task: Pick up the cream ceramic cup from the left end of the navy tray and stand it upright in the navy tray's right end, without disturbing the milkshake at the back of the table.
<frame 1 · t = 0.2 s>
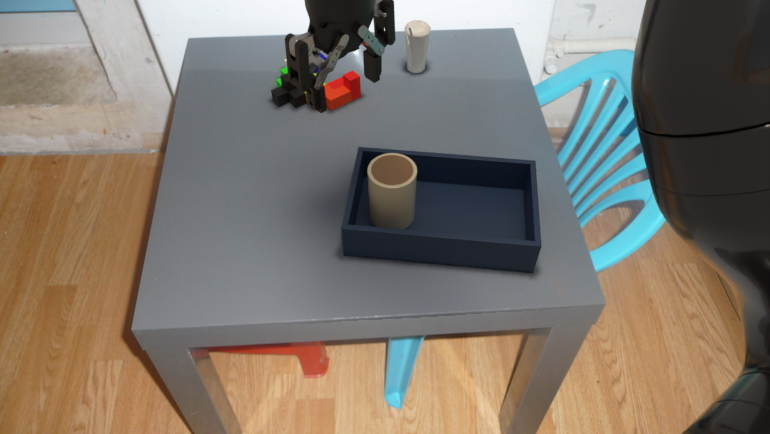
hand: (346, 93, 72), 20 cm above the table, tool pointing down, fingers open, 8 cm apart
navy tray: (440, 220, 84), on the table
milkshake: (414, 70, 108), on the table
building blocks: (307, 90, 104), on the table
cup: (391, 214, 84), resting on navy tray
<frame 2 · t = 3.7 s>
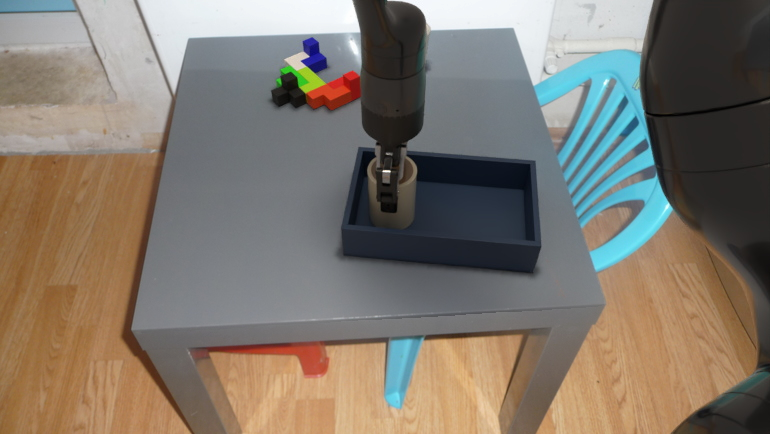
hand: (392, 190, 81), 5 cm above the table, tool pointing down, fingers closed on cup, 6 cm apart
cup: (391, 214, 84), resting on navy tray, touching gripper
everything else where it was.
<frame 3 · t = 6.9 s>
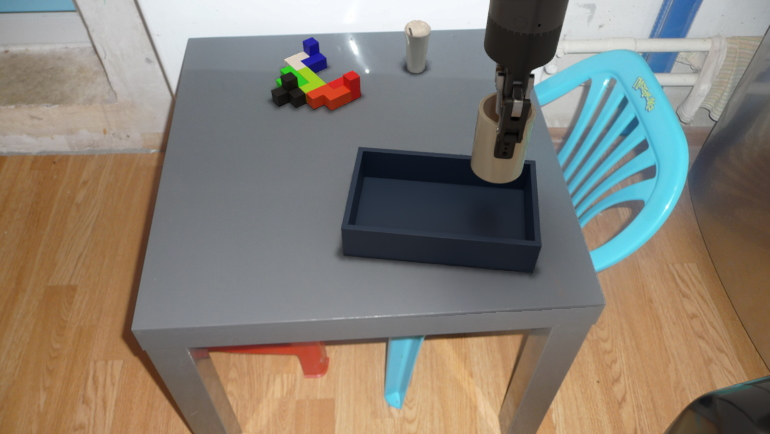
hand: (502, 135, 71), 17 cm above the table, tool pointing down, fingers closed on cup, 6 cm apart
cup: (496, 164, 75), point 12 cm above the table, touching gripper
everything else where it was.
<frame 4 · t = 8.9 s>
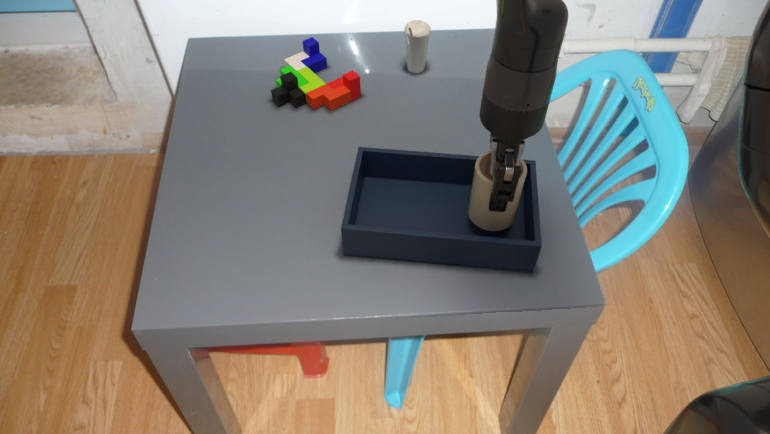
hand: (496, 189, 78), 7 cm above the table, tool pointing down, fingers closed on cup, 6 cm apart
cup: (491, 213, 82), point 2 cm above the table, touching gripper
everything else where it was.
when the fingers open (5 cm above the table, at t = 10.2 s): cup stays where it is, resting on navy tray.
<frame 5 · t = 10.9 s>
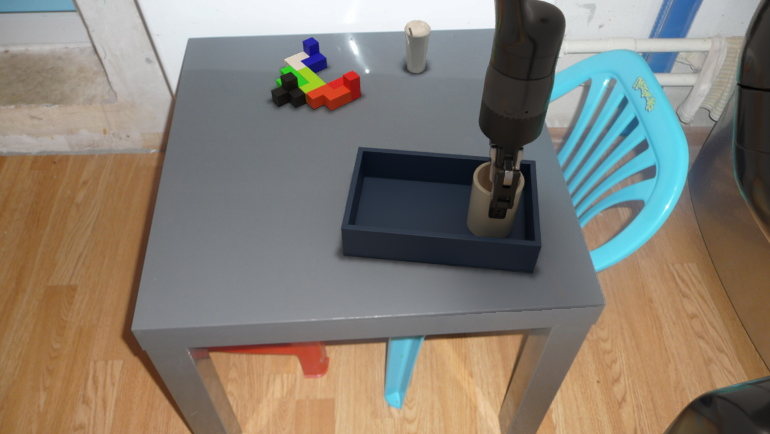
hand: (496, 192, 79), 7 cm above the table, tool pointing down, fingers open, 8 cm apart
cup: (489, 222, 83), resting on navy tray
everything else where it was.
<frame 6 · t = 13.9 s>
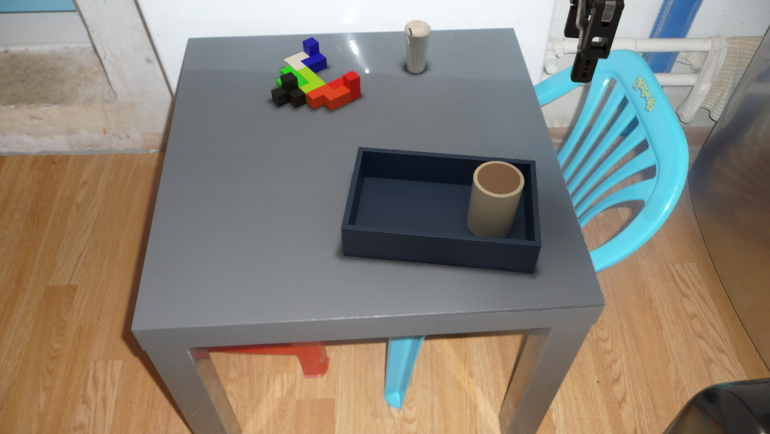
hand: (576, 57, 65), 26 cm above the table, tool pointing down, fingers open, 8 cm apart
nothing on the table moved.
at the end: cup 0.1 cm from the target spot on the navy tray, point 0.4 cm above the navy tray's base; cup tilted 0°; milkshake moved 0.2 cm from its start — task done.
